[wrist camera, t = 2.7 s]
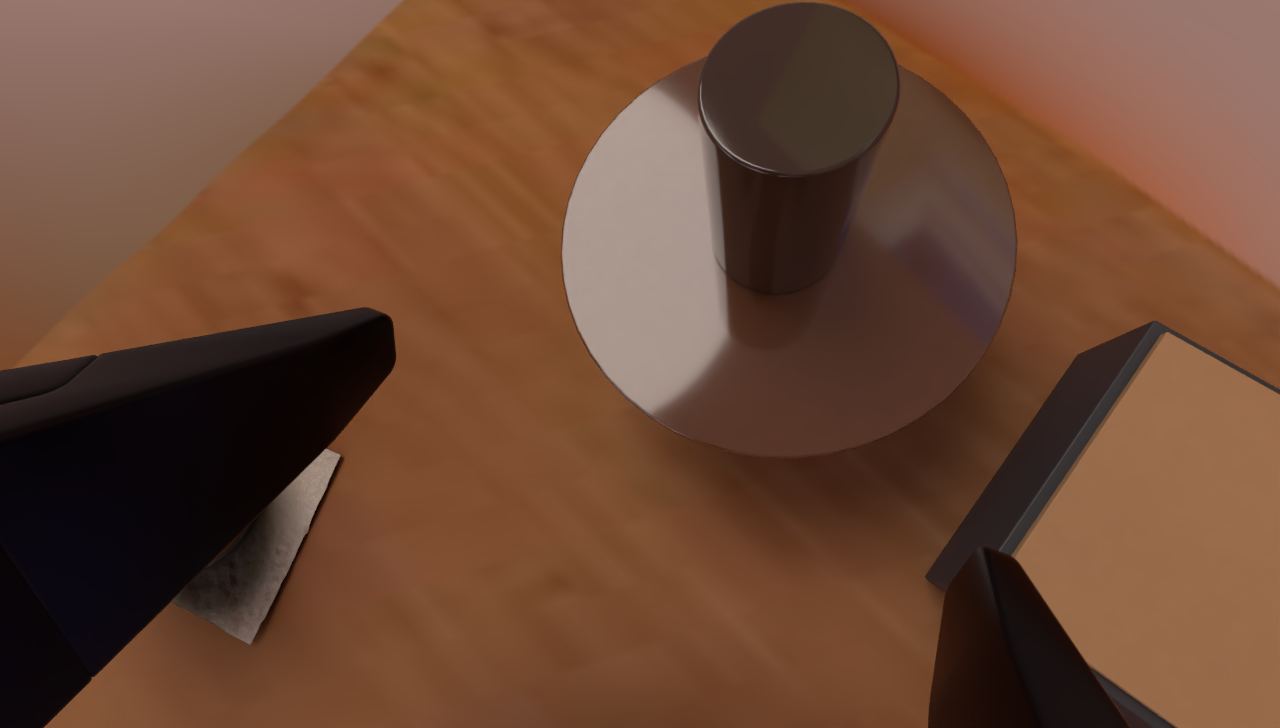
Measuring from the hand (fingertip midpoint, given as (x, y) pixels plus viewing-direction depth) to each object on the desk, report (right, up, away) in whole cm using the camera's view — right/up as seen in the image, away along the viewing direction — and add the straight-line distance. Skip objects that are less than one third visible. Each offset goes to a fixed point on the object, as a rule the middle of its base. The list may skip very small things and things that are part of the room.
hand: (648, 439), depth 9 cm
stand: (+15, -5, +10) cm, 19 cm away
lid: (+4, +4, +8) cm, 10 cm away
